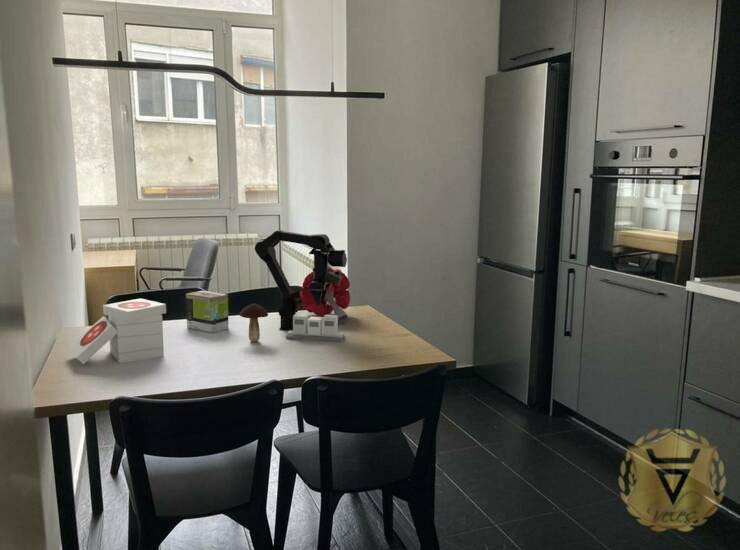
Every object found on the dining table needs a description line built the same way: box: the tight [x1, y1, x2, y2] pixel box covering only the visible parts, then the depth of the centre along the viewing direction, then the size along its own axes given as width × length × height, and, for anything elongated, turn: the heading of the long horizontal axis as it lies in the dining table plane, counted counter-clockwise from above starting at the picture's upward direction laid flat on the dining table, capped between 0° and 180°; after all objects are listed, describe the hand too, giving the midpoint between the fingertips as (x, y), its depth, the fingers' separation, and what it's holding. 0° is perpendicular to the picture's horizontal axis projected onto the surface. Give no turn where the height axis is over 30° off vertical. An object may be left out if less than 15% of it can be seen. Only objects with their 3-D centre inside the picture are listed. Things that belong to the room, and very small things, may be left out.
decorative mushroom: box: [238, 303, 269, 343], centre depth 228 cm, size 11×11×15 cm
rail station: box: [285, 312, 345, 343], centre depth 236 cm, size 22×8×9 cm, turn 83°
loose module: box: [308, 316, 323, 335], centre depth 236 cm, size 5×5×6 cm
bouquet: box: [299, 265, 351, 324], centre depth 268 cm, size 22×24×30 cm
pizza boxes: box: [69, 298, 167, 365], centre depth 207 cm, size 19×30×18 cm, turn 124°
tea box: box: [185, 290, 229, 334], centre depth 247 cm, size 15×10×15 cm
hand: (320, 303), depth 245 cm, fingers open, 9 cm apart
